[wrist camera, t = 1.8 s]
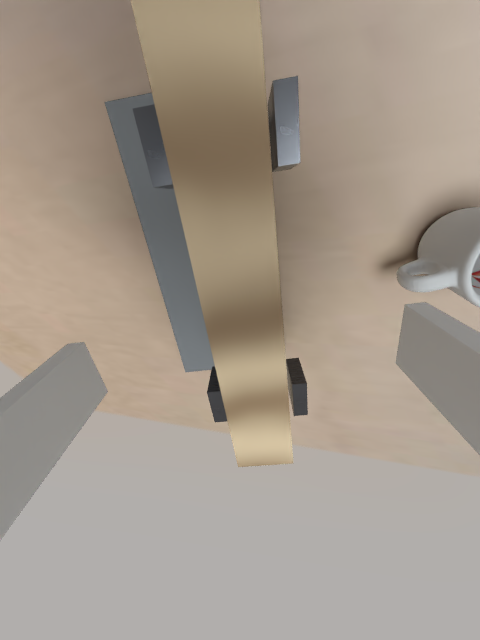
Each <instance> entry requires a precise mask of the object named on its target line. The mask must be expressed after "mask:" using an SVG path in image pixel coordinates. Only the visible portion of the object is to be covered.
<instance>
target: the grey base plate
mask: <svg viewBox="0 0 480 640" xmlns="http://www.w3.org/2000/svg"><path fill="white" fill-rule="evenodd" d="M153 104H154V100H153V96H152V93H148V94H143V95H138V96H133V97H128V98H123V99H118V100H113V101H108V102H105V105H106V108H107V112H108V115H109V118H110V122H111V125H112V128H113V132H114V135H115V138H116V142H117V145H118V148H119V152H120V155H121V158H122V162H123V165H124V168H125V172H126V175H127V178H128V182H129V185H130V188H131V192H132V195H133V198H134V202H135V205H136V208H137V212H138V215H139V218H140V222H141V225H142V228H143V232H144V235H145V238H146V242H147V245H148V248H149V252H150V255H151V258H152V262H153V265H154V268H155V272H156V275H157V279H158V282H159V285H160V289H161V292H162V295H163V299H164V302H165V305H166V309H167V312H168V315H169V319H170V322H171V325H172V329H173V332H174V335H175V339H176V342H177V345H178V349H179V352H180V355H181V359H182V362H183V365H184V369H185V372H192V371H202V370H212V367H213V366H215V364H214V360H213V356H212V351H211V347H210V343H209V338H208V334H207V330H206V325H205V321H204V317H203V312H202V308H201V304H200V299H199V295H198V291H197V286H196V282H195V278H194V273H193V269H192V265H191V260H190V256H189V252H188V247H187V243H186V239H185V234H184V230H183V226H182V221H181V217H180V213H179V208H178V204H177V200H176V195H175V191H174V189H164V188H153V185H152V181H151V178H150V174H149V170H148V166H147V162H146V159H145V155H144V151H143V147H142V144H141V140H140V136H139V132H138V128H137V125H136V121H135V117H134V113H133V108H138V107H143V106H148V105H153Z"/></svg>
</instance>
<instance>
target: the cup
mask: <svg viewBox="0 0 480 640" xmlns="http://www.w3.org/2000/svg"><path fill="white" fill-rule="evenodd" d="M416 274H428V275H425V276H412V275H416ZM397 280H398V282H399V284H400V285H401V286H402V287H404V288H405V289H407V290H410V291H414V292H430V291H435V290H440V289H443V288H449V289H450V290H452V291H453V292H455V293H456V294H458V295H460V296H461V297H463V298H464V299H466V300H467V301H469V302H470V303H472V304H474V305H475V306H477V307H480V207H473V208H465V209H461V210H457V211H454V212H451V213H449V214H446V215H445V216H443V217H441V218H440V219H438V220H437V221H436V222H434V223H433V224H432V225H431V226H430V227H429V228H428V229H427V231H426V232H425V233H424V235H423V237H422V239H421V241H420V243H419V247H418V260H415V261H412V262H409V263H407V264H404V265H403V266H401V267H400V268H399V269H398V270H397Z"/></svg>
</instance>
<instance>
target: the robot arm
mask: <svg viewBox="0 0 480 640" xmlns="http://www.w3.org/2000/svg"><path fill="white" fill-rule="evenodd" d="M396 364H397V365H398V366H399V368H400V369H401V370H402V371H403V372H404V373H405V374H406V375H407V376H408V377H409V379H410V380H411V381H412V382H413V383H414V384H415V385H416V386H417V387H418V388H419V389H420V391H421V392H422V393H423V394H424V395H425V396H426V397H427V398H428V399H429V400H430V402H431V403H432V404H433V405H434V406H435V407H436V408H437V409H438V410H439V411H440V412H441V414H442V415H443V416H444V417H445V418H446V419H447V420H448V421H449V422H450V423H451V424H452V426H453V427H454V428H455V429H456V430H457V431H458V432H459V433H460V434H461V435H462V437H463V438H464V439H465V440H466V441H467V442H468V443H469V444H470V445H471V446H472V447H473V449H474V450H475V451H476V452H477V453H478V454H479V455H480V333H479V332H477V331H476V330H474V329H472V328H470V327H469V326H467V325H465V324H463V323H462V322H460V321H458V320H456V319H455V318H453V317H451V316H449V315H448V314H446V313H444V312H442V311H441V310H439V309H437V308H435V307H434V306H432V305H430V304H428V303H426V302H422V303H414V304H405V307H404V313H403V319H402V326H401V332H400V338H399V345H398V351H397V357H396ZM107 392H108V391H107V388H106V386H105V384H104V382H103V380H102V378H101V376H100V374H99V372H98V370H97V368H96V366H95V364H94V361H93V359H92V357H91V355H90V353H89V351H88V349H87V347H86V345H85V343H84V342H80V343H71V344H67V345H65V346H64V347H63V348H62V349H60V350H59V351H58V352H57V353H55V354H54V355H53V356H52V357H51V358H49V359H48V360H47V361H46V362H44V363H43V364H42V365H41V366H39V367H38V368H37V369H36V370H34V371H33V372H32V373H31V374H29V375H28V376H27V377H26V378H24V379H23V380H22V381H21V382H19V383H18V384H17V385H16V386H14V387H13V388H12V389H11V390H10V391H8V392H7V393H6V394H5V395H4V396H2V397H1V398H0V540H1V539H2V537H3V536H4V535H5V533H6V532H7V530H8V529H9V528H10V526H11V525H12V524H13V522H14V521H15V520H16V518H17V517H18V515H19V514H20V513H21V511H22V510H23V508H24V507H25V506H26V504H27V503H28V501H29V500H30V499H31V497H32V496H33V495H34V493H35V492H36V490H37V489H38V488H39V486H40V485H41V484H42V482H43V481H44V479H45V478H46V477H47V475H48V474H49V472H50V471H51V470H52V468H53V467H54V466H55V464H56V463H57V461H58V460H59V459H60V457H61V456H62V454H63V453H64V452H65V450H66V449H67V447H68V446H69V445H70V443H71V441H73V439H74V438H75V436H76V435H77V434H78V432H79V431H80V430H81V428H82V427H83V425H84V424H85V423H86V421H87V420H88V418H89V417H90V416H91V414H92V413H93V412H94V410H95V409H96V407H97V406H98V405H99V403H100V402H101V400H102V399H103V398H104V396H105V395H106V394H107Z"/></svg>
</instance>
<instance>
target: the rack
mask: <svg viewBox="0 0 480 640" xmlns="http://www.w3.org/2000/svg"><path fill="white" fill-rule="evenodd" d="M133 113H134V117H135V121H136V125H137V128H138V132H139V136H140V140H141V144H142V147H143V151H144V155H145V159H146V162H147V166H148V170H149V174H150V178H151V181H152V185H153V188H164V189H174V187H173V182H172V178H171V174H170V169H169V165H168V161H167V156H166V152H165V148H164V143H163V139H162V135H161V130H160V126H159V122H158V117H157V113H156V109H155V104H153V105H148V106H143V107H138V108H133ZM268 119H269V132H270V146H271V160H272V172H276V171H282V170H288V169H291V168H293V167H294V166H296V165H298V164H299V163H300V134H299V99H298V76H295V77H290V78H285V79H280V80H275V81H273V83H272V87H271V92H270V96H269V101H268ZM286 366H287V380H288V390H289V395H290V399H291V404H292V409H293V413H294V416H298V415H308V410H307V383H306V380H305V376H304V373H303V370H302V367H301V364H300V361H299V358H292V359H286ZM207 394H208V398H209V402H210V405H211V409H212V413H213V417H214V421H215V422H224V421H227V416H226V412H225V408H224V403H223V399H222V395H221V390H220V386H219V382H218V377H217V373H216V369H215V366H213V367H212V371H211V376H210V381H209V386H208V391H207Z"/></svg>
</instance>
